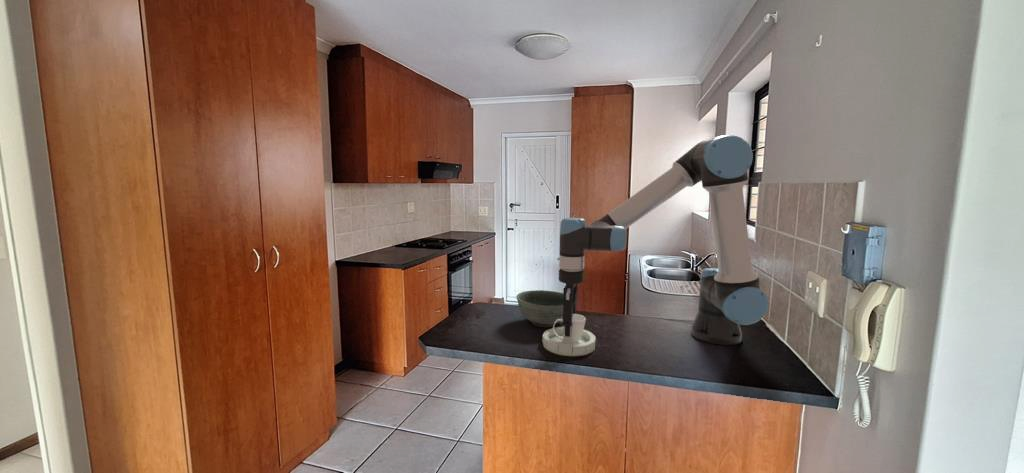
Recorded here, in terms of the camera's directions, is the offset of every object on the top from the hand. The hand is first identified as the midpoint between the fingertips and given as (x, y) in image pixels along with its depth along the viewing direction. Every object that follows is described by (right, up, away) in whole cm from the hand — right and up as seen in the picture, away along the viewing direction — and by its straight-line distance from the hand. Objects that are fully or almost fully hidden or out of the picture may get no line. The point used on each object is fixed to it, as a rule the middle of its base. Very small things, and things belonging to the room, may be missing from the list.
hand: (569, 340), depth 127 cm
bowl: (-6, +1, +19) cm, 20 cm away
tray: (0, -1, 0) cm, 1 cm away
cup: (0, 0, 0) cm, 1 cm away
